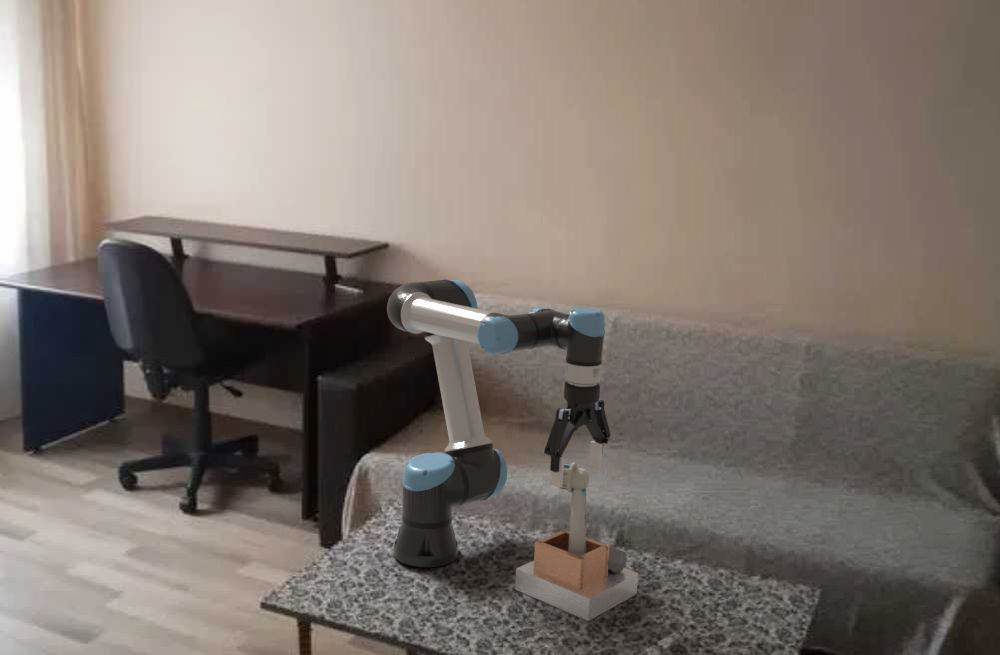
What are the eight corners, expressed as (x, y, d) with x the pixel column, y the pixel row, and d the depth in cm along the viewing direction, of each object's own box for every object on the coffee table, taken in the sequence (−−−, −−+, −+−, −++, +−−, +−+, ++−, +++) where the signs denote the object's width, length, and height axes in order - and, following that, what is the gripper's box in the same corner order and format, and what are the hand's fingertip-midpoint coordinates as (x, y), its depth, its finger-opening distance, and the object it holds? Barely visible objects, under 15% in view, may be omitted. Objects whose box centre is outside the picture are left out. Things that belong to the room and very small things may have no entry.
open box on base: (515, 589, 226) (517, 538, 224) (565, 565, 240) (568, 517, 237) (588, 621, 213) (591, 567, 211) (636, 594, 227) (640, 543, 224)
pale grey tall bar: (581, 581, 220) (588, 470, 216) (552, 574, 223) (558, 465, 218) (589, 571, 225) (596, 463, 220) (560, 565, 228) (566, 458, 223)
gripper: (559, 395, 204) (553, 496, 208) (631, 376, 222) (623, 469, 226) (530, 388, 208) (525, 486, 213) (602, 369, 227) (596, 461, 231)
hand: (575, 478), depth 220 cm, fingers open, 13 cm apart
